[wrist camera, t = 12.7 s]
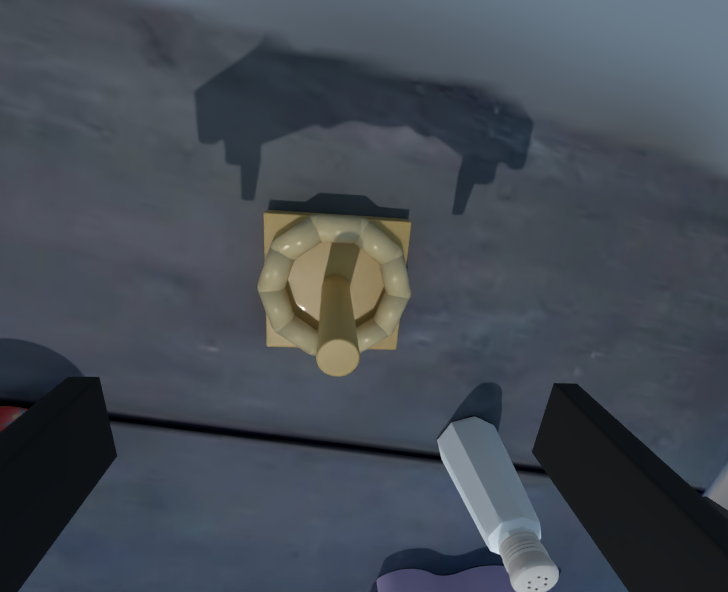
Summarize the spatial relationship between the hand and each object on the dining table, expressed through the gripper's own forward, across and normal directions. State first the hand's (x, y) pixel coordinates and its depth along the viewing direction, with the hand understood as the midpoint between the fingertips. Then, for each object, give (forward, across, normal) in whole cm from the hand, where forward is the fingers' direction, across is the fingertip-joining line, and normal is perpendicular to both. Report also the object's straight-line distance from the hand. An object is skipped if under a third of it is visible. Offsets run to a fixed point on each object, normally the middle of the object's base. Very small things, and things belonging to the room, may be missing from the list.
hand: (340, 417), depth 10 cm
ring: (+12, 0, 0) cm, 12 cm away
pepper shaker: (+14, +12, -14) cm, 24 cm away
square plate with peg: (+14, 0, 0) cm, 14 cm away
